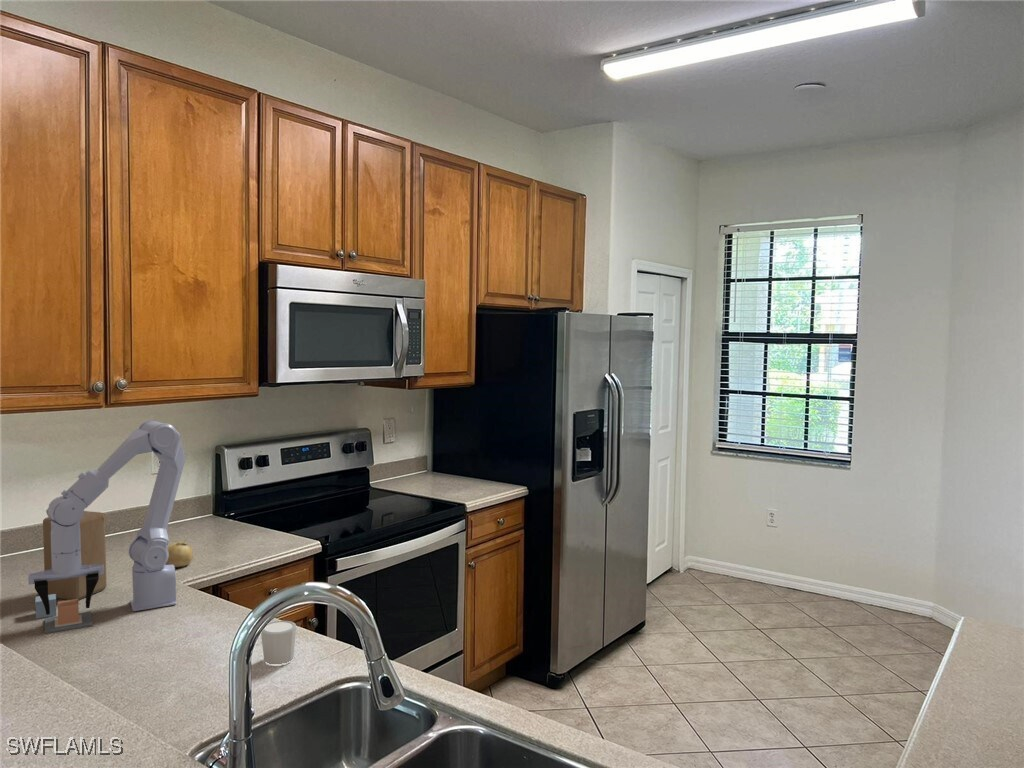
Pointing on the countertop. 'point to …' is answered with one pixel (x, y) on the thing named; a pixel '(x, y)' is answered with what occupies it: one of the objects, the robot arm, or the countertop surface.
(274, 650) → the white tapered cup
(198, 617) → the countertop surface
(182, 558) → the onion
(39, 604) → the blue brick
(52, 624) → the mat
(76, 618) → the terracotta brick
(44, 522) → the wooden block
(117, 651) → the countertop surface
